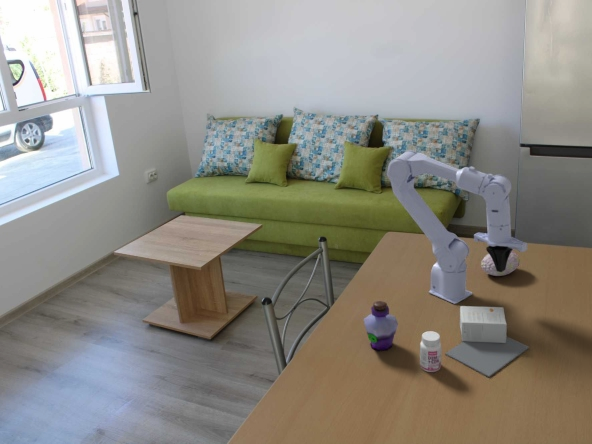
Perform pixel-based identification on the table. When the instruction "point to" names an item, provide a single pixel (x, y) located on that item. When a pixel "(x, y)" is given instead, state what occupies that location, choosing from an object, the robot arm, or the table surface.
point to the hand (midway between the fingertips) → (501, 270)
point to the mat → (487, 355)
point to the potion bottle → (380, 326)
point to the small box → (483, 324)
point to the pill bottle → (430, 351)
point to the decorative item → (491, 269)
